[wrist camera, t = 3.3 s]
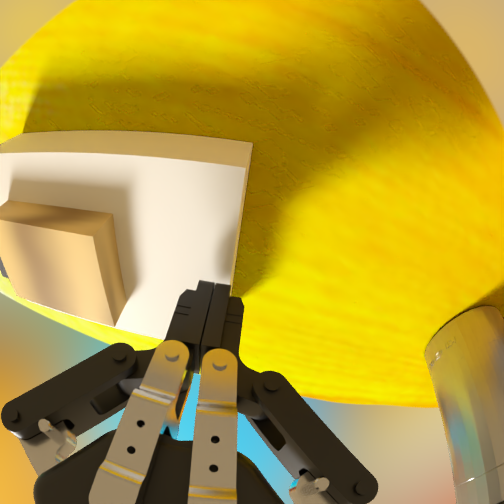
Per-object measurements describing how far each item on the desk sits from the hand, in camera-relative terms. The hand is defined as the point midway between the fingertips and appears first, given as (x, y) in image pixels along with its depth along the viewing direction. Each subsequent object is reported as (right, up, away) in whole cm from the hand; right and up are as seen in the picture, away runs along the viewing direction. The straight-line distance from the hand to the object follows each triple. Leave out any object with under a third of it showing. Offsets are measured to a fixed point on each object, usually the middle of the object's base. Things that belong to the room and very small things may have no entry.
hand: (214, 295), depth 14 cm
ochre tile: (-9, +2, +1) cm, 9 cm away
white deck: (-7, +4, +4) cm, 9 cm away
